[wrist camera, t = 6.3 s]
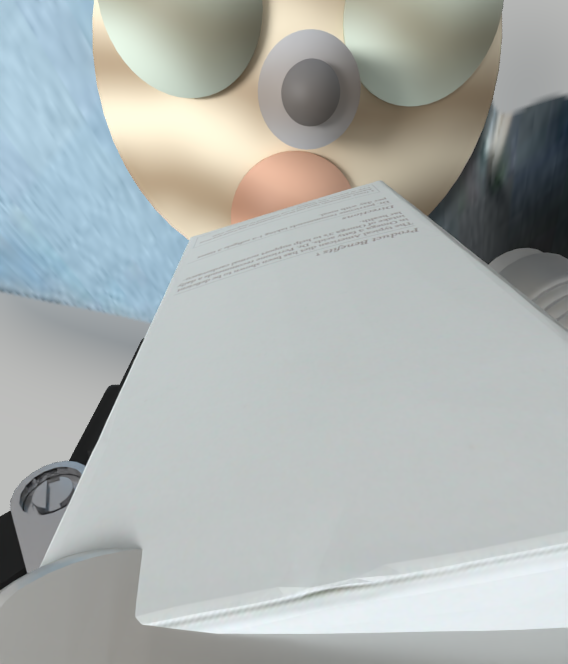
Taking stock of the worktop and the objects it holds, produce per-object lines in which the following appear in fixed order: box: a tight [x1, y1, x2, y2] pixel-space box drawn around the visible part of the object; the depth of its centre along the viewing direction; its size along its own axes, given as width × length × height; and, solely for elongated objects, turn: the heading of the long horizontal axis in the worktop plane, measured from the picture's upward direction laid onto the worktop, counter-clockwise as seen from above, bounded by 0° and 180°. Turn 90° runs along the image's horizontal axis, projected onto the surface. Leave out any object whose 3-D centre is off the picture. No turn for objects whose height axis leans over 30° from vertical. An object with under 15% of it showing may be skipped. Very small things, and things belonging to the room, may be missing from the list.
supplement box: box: [39, 180, 568, 634], centre depth 11 cm, size 7×7×13 cm
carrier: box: [93, 0, 504, 240], centre depth 20 cm, size 22×22×8 cm
